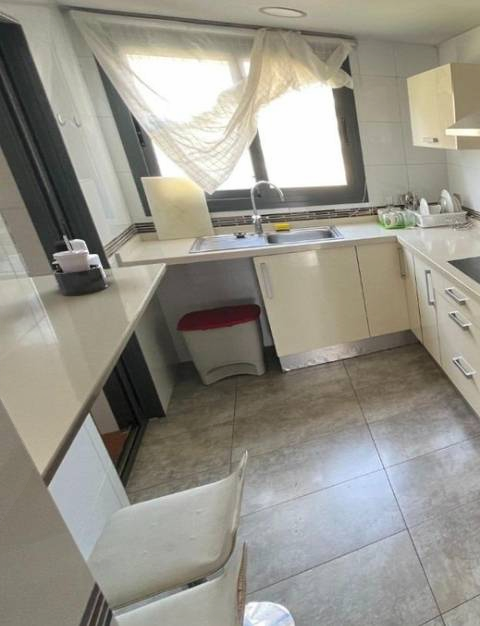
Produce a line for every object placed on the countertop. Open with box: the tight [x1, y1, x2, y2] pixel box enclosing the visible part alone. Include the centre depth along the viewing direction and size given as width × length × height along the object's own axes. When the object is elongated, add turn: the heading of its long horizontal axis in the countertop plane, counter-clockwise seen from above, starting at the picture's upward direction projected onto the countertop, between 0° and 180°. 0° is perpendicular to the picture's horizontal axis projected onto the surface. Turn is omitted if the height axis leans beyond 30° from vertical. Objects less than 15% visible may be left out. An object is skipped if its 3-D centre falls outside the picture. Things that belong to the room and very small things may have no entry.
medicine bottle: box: [51, 238, 107, 280], centre depth 125 cm, size 7×7×12 cm
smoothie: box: [52, 235, 90, 273], centre depth 118 cm, size 6×6×14 cm
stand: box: [51, 264, 109, 297], centre depth 120 cm, size 9×9×6 cm
